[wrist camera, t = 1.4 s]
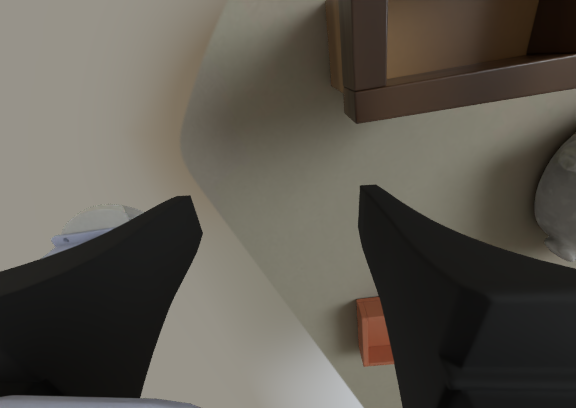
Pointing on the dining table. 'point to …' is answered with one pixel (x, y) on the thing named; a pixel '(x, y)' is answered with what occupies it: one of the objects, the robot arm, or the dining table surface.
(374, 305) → the holder
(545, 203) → the dish
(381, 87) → the frame
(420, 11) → the stand
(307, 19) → the dining table surface
